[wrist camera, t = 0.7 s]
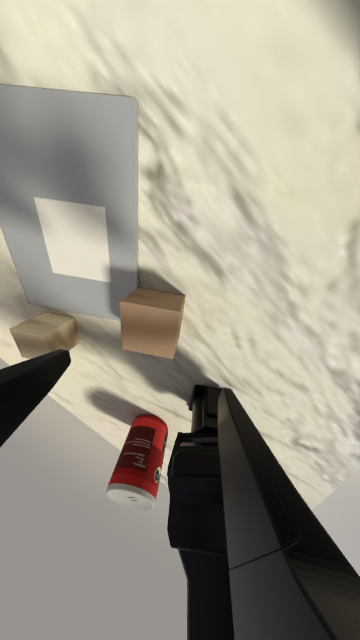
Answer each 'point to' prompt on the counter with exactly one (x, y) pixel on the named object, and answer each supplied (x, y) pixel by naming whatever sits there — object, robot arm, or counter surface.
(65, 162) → the build mat
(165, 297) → the walnut block
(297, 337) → the counter surface
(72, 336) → the maple block
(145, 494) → the canned food
